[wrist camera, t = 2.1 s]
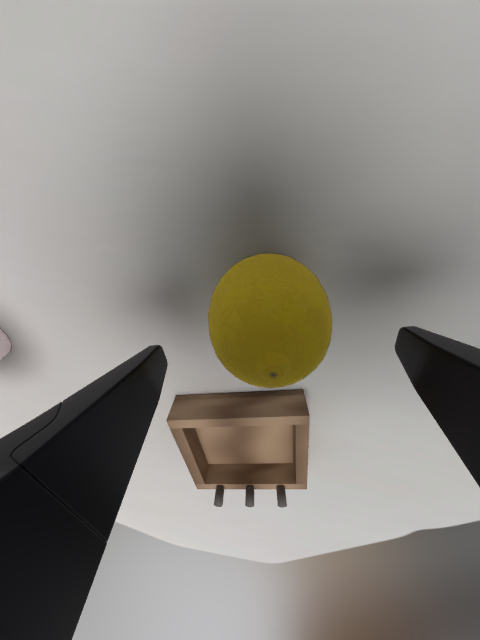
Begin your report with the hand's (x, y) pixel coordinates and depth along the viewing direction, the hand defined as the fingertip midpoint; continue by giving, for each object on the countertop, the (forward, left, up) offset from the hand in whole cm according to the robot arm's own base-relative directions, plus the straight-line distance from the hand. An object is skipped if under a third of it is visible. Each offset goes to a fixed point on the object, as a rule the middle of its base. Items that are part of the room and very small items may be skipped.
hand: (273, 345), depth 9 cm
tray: (+3, +15, -6) cm, 17 cm away
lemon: (0, 0, -7) cm, 7 cm away
